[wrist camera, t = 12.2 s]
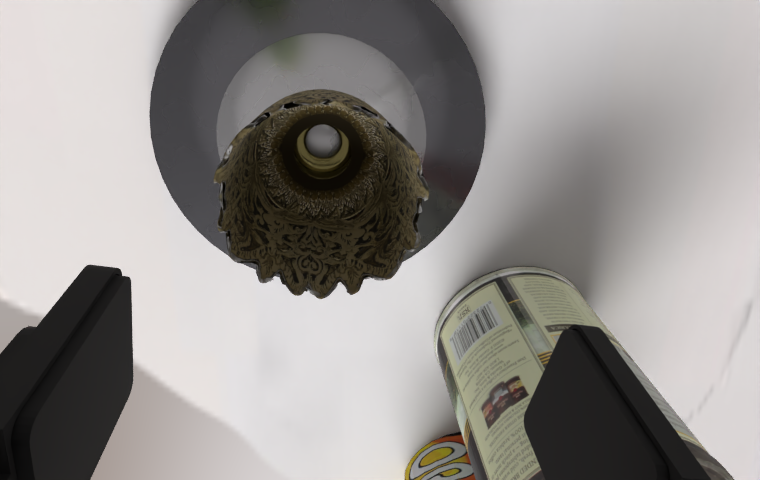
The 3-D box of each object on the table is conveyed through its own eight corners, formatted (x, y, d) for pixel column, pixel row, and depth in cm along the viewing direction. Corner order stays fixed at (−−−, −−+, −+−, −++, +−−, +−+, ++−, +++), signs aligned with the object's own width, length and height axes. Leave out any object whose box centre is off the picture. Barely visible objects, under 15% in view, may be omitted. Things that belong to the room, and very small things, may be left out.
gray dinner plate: (160, -85, 21) (148, -89, 20) (518, -2, 24) (531, 0, 23) (157, 250, 28) (148, 266, 27) (434, 283, 31) (440, 299, 30)
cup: (248, 47, 22) (213, 84, 15) (412, 72, 24) (450, 119, 17) (240, 202, 26) (209, 292, 19) (385, 218, 27) (406, 308, 20)
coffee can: (551, 398, 37) (667, 615, 25) (414, 381, 35) (466, 609, 23) (614, 278, 33) (794, 469, 20) (462, 250, 31) (560, 445, 18)
